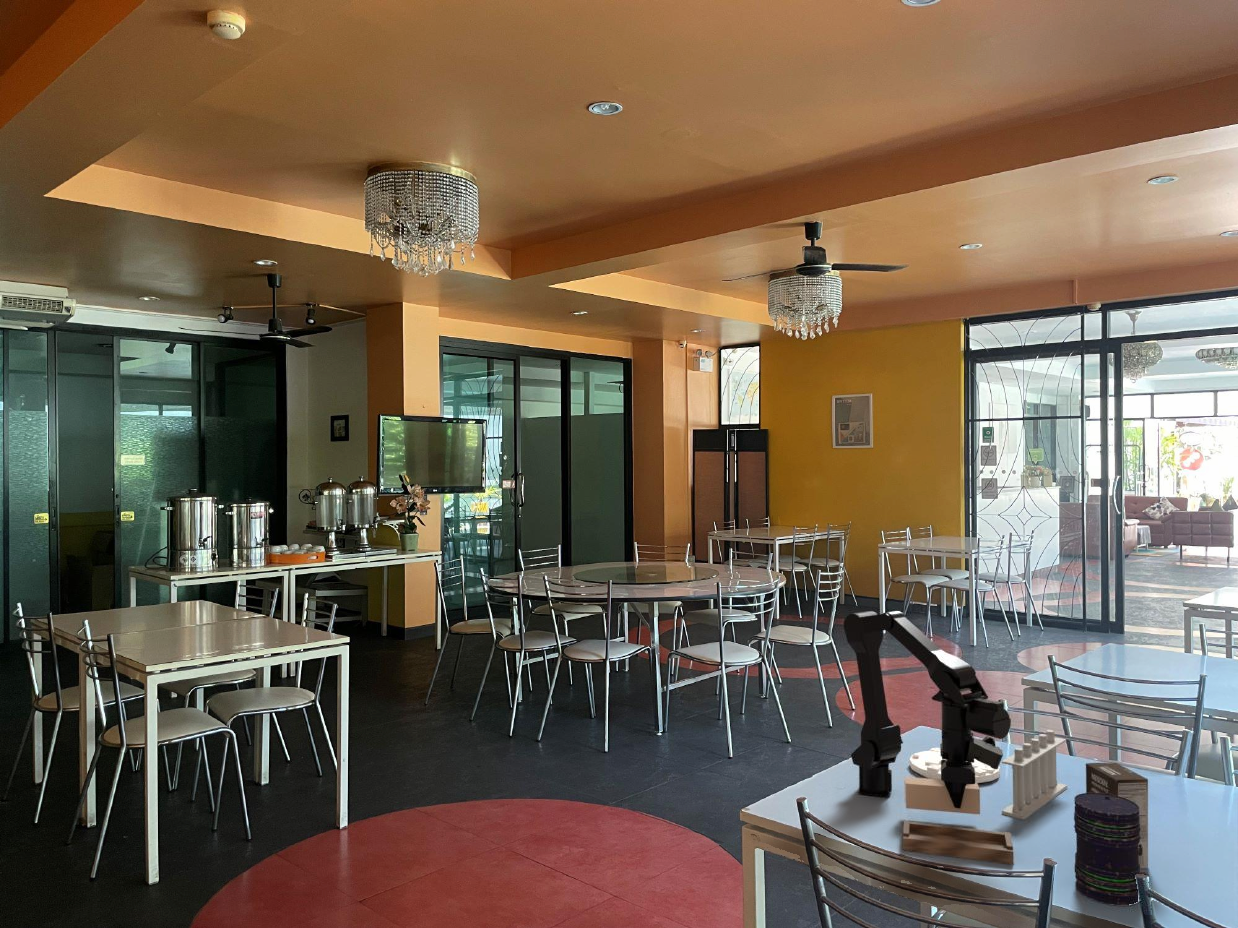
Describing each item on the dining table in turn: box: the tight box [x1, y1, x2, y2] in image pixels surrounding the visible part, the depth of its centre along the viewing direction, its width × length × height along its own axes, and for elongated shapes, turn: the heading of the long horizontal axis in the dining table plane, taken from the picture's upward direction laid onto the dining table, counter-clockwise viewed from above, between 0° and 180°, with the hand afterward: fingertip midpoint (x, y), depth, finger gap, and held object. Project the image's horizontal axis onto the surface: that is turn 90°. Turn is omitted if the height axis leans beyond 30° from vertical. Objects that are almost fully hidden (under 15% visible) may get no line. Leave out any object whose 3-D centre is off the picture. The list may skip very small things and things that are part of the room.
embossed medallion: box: [909, 747, 1001, 784], centre depth 210 cm, size 20×20×3 cm
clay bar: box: [904, 776, 981, 815], centre depth 179 cm, size 14×4×5 cm, turn 76°
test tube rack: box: [1001, 729, 1068, 820], centre depth 191 cm, size 25×4×13 cm, turn 135°
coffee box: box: [1085, 762, 1149, 869], centre depth 162 cm, size 9×6×16 cm
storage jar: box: [1073, 792, 1141, 906], centre depth 149 cm, size 10×10×15 cm
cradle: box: [902, 819, 1015, 865], centre depth 167 cm, size 19×8×3 cm, turn 71°
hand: (957, 803), depth 179 cm, fingers closed on clay bar, 4 cm apart
